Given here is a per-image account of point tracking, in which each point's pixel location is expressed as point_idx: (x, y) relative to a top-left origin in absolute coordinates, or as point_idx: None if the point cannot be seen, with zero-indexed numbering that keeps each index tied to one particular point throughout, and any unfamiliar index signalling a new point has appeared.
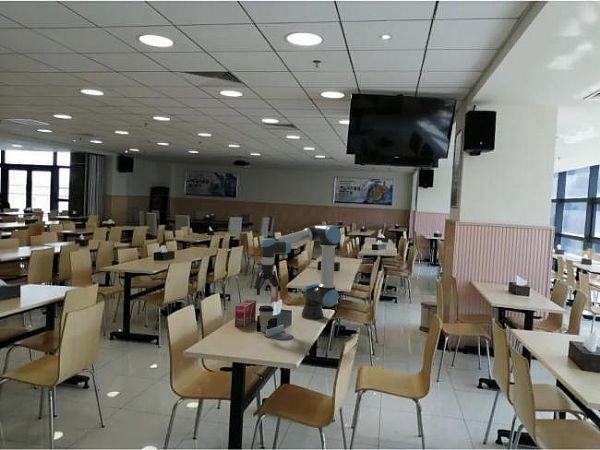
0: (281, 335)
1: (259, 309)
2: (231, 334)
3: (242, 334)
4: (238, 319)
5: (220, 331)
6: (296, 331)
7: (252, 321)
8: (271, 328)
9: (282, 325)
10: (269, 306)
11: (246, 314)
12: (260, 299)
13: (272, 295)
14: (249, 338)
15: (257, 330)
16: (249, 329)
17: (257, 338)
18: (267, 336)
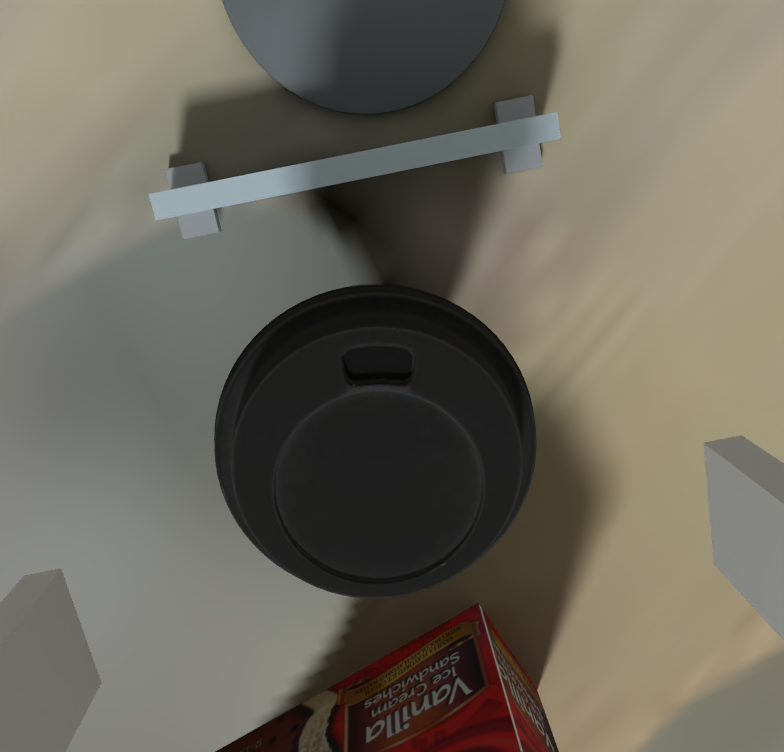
0: (358, 7)
1: (530, 481)
2: None
3: (682, 400)
4: (539, 726)
5: None
6: (8, 76)
7: (250, 740)
8: (438, 150)
9: (180, 188)
10: (277, 474)
11: (450, 739)
12: (755, 449)
13: (65, 676)
14: (738, 212)
15: None
16: None
17: (665, 149)
18: (534, 108)
